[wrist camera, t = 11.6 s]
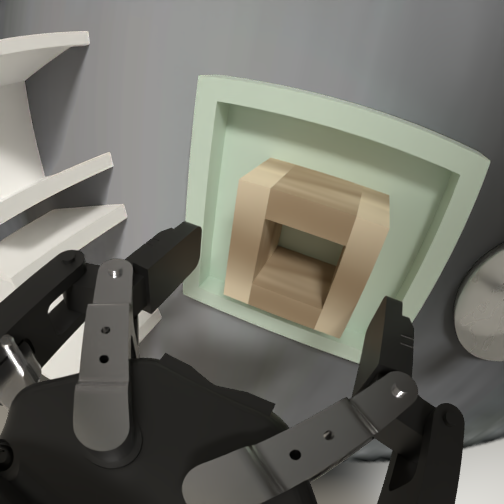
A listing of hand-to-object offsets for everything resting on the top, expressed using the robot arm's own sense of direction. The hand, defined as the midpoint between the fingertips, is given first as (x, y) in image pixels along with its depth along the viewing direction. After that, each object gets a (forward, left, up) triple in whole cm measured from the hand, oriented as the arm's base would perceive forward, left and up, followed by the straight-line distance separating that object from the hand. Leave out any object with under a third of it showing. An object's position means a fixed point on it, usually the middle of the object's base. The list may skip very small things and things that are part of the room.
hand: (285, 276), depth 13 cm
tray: (0, 0, -6) cm, 6 cm away
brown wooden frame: (0, 0, -5) cm, 5 cm away
